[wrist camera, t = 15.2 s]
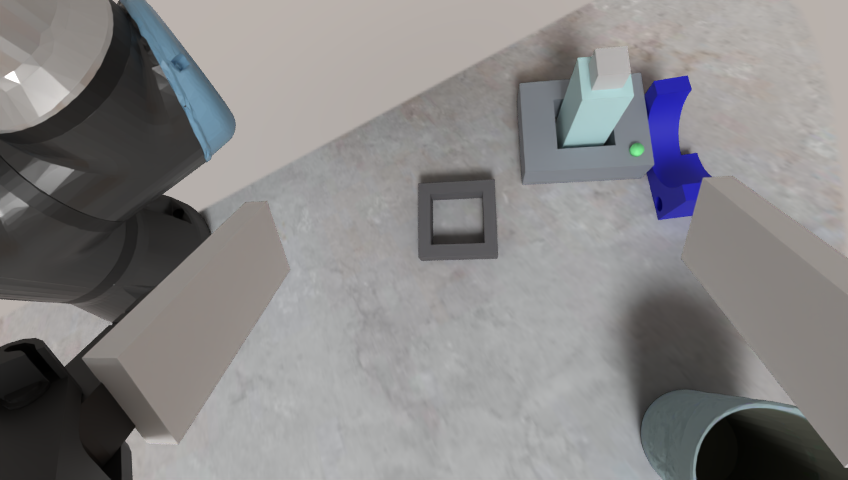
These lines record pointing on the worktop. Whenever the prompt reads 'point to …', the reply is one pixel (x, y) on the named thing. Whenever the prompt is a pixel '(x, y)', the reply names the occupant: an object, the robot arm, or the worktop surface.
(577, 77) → the capped teal pillar
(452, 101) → the worktop surface
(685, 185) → the cable clip
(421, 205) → the frame
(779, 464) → the grey-green tumbler cup
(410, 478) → the worktop surface
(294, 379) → the worktop surface
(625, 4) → the worktop surface
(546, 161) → the block
